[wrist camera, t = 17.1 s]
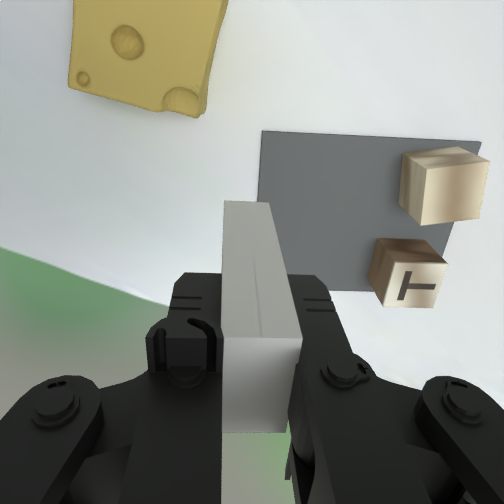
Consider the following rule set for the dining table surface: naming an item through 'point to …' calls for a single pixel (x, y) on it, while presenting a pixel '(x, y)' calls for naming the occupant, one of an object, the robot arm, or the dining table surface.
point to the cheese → (146, 51)
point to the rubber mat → (341, 201)
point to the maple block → (442, 185)
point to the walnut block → (406, 273)
